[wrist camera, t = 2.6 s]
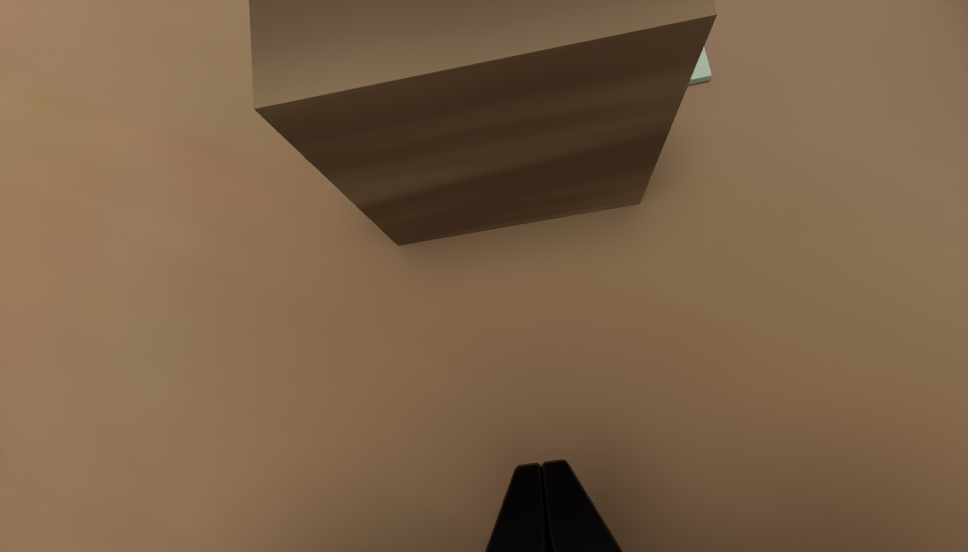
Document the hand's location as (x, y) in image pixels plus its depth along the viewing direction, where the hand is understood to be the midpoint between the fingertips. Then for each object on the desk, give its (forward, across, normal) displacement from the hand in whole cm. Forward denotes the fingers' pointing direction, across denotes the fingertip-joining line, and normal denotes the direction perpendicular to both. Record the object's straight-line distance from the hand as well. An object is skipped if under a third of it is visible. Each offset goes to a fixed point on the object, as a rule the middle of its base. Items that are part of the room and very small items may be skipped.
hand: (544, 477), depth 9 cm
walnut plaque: (+11, 0, 0) cm, 11 cm away
